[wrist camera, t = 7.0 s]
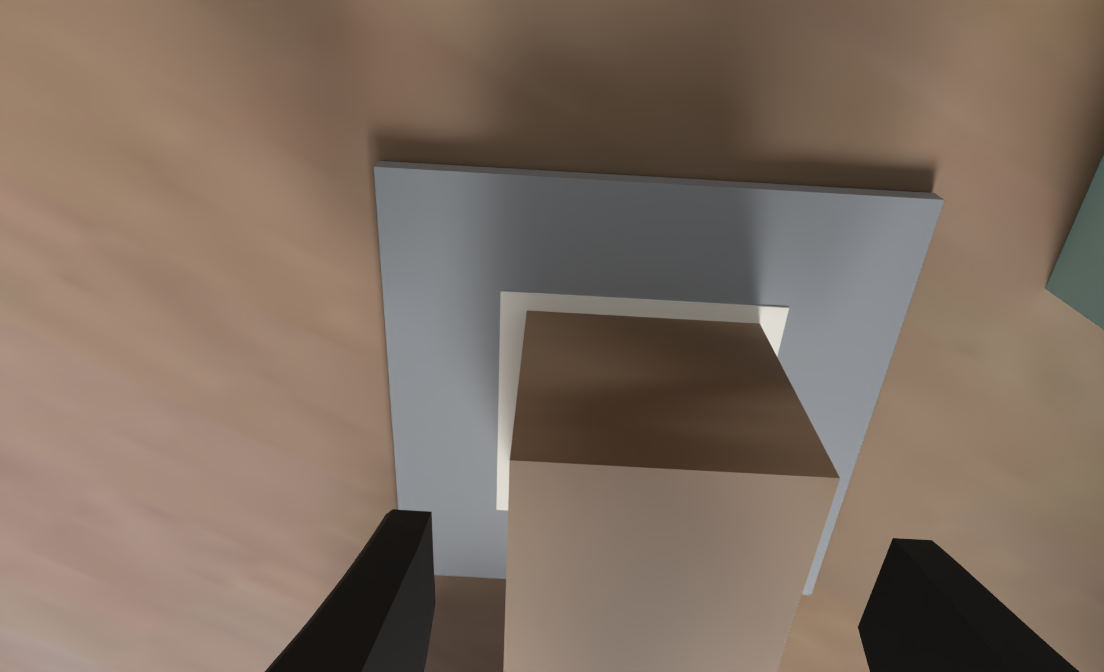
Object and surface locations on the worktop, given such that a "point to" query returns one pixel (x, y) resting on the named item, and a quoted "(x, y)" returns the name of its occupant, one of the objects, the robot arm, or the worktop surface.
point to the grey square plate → (620, 307)
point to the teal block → (1084, 257)
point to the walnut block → (657, 497)
